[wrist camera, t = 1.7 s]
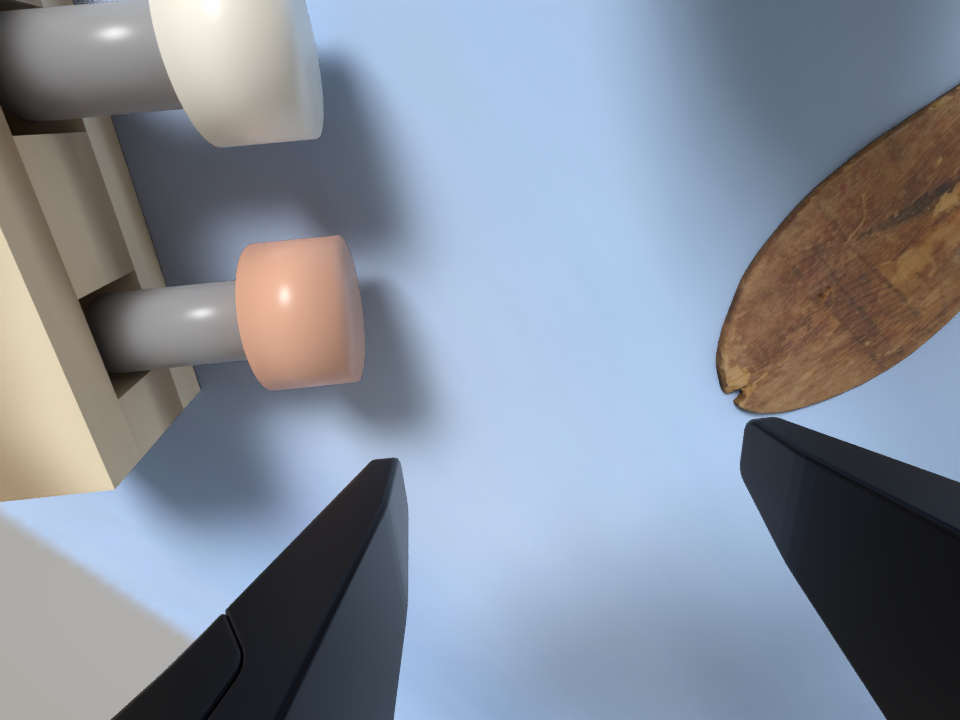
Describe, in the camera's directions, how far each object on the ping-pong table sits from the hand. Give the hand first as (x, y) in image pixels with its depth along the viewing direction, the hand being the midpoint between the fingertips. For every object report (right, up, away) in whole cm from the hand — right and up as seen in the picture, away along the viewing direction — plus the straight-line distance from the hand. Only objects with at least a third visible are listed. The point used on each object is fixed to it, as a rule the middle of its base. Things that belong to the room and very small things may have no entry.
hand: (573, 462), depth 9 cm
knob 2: (-9, +4, +10) cm, 14 cm away
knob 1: (-10, +10, +7) cm, 16 cm away
